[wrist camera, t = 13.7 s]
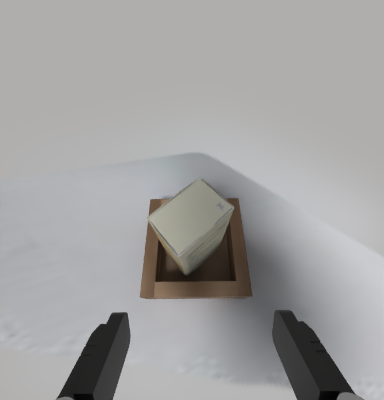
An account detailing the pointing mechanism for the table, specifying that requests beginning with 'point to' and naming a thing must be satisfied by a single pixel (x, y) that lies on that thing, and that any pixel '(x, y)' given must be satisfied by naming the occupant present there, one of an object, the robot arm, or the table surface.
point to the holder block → (205, 274)
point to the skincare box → (192, 224)
